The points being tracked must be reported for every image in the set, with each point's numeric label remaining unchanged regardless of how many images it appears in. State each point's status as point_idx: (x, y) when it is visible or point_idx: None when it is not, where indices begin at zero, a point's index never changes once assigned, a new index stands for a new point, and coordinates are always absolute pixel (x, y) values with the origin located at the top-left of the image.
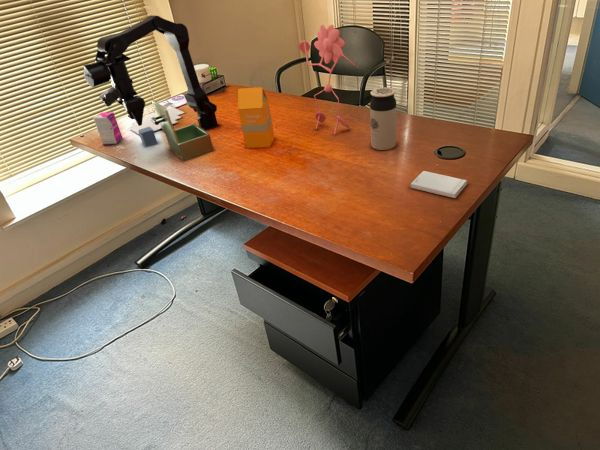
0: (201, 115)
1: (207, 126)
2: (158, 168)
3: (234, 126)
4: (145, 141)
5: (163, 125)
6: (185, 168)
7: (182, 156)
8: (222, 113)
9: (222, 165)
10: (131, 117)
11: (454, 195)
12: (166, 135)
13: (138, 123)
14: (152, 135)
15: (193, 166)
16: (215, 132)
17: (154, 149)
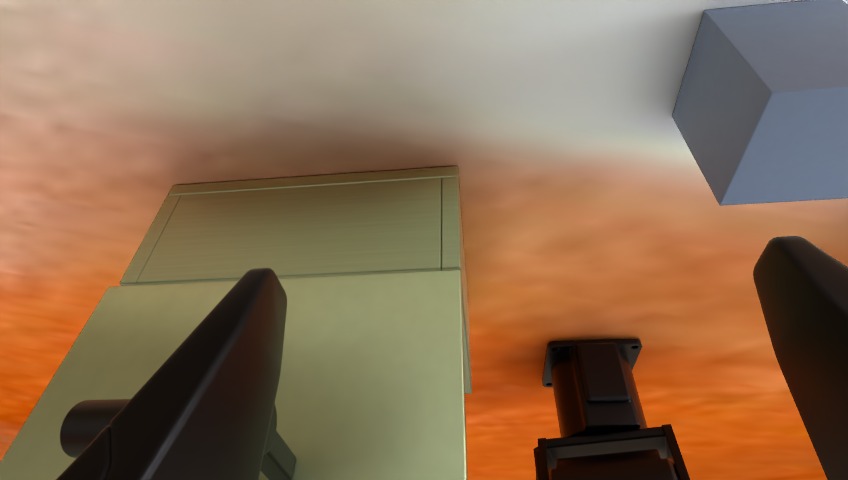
0: (584, 422)
1: (560, 364)
2: (101, 11)
3: (478, 401)
4: (721, 50)
5: (343, 359)
6: (48, 169)
7: (161, 211)
8: (680, 411)
9: (45, 296)
10: (788, 268)
11: None
12: (435, 256)
13: (222, 309)
14: (705, 149)
15: (69, 208)
16: (481, 357)
17: (560, 66)
